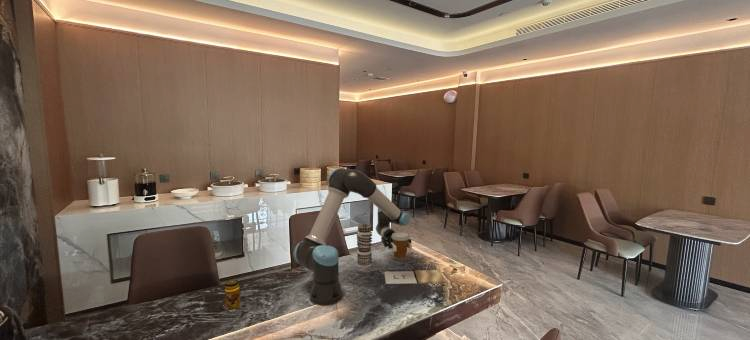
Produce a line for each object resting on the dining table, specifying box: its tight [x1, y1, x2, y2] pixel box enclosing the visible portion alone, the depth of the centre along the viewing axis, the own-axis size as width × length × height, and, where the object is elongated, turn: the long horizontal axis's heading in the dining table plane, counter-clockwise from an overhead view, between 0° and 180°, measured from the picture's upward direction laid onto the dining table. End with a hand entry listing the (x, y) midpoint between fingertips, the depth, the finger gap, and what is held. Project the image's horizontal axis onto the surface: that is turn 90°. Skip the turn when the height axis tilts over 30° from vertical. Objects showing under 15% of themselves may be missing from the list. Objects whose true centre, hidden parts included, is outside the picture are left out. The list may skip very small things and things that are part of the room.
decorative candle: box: [356, 221, 373, 268], centre depth 185 cm, size 9×9×25 cm
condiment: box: [224, 279, 242, 310], centre depth 140 cm, size 7×8×12 cm
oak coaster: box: [414, 269, 447, 284], centre depth 169 cm, size 14×14×1 cm
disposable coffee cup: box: [391, 231, 410, 259], centre depth 167 cm, size 10×10×12 cm
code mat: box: [383, 270, 418, 285], centre depth 169 cm, size 16×14×1 cm
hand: (403, 248), depth 162 cm, fingers closed on disposable coffee cup, 8 cm apart
